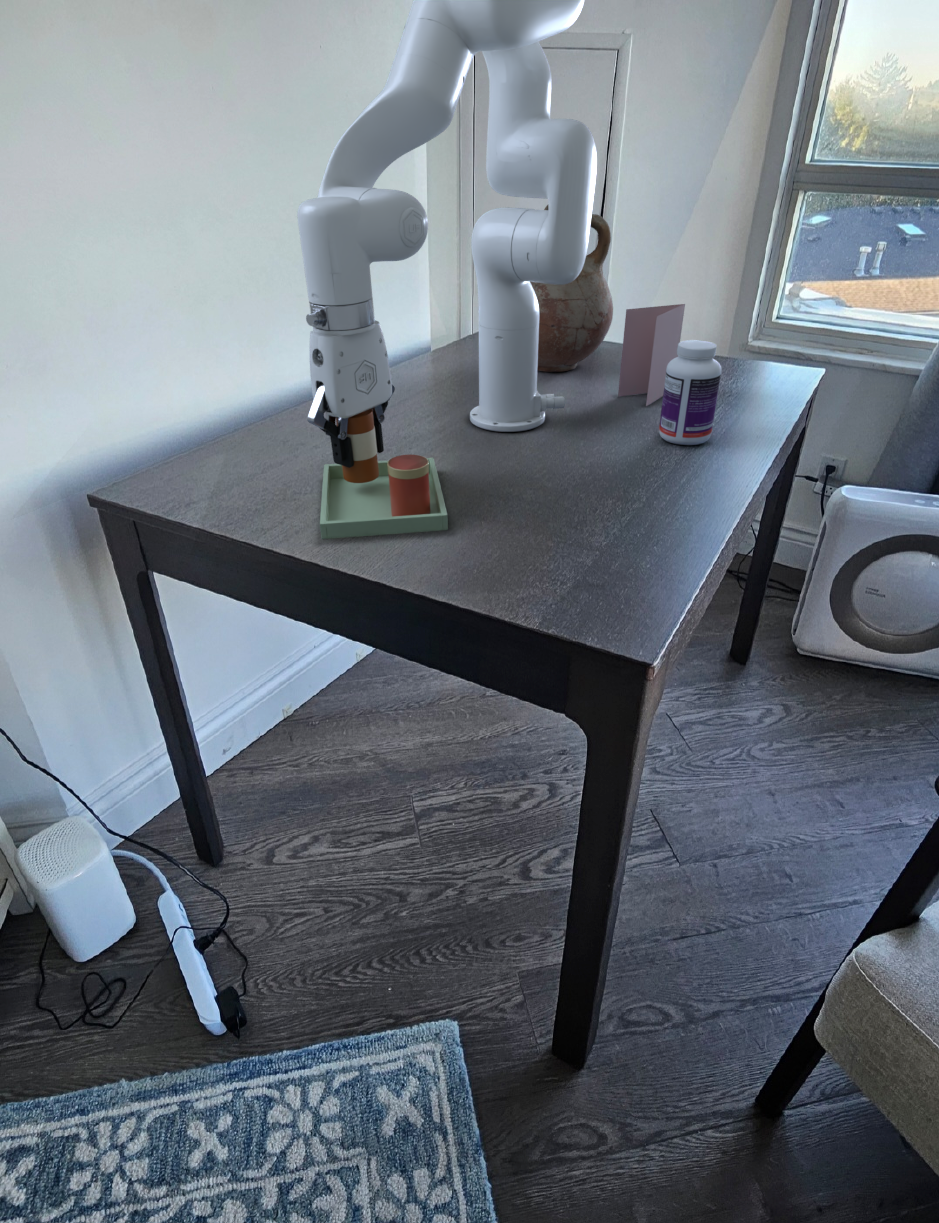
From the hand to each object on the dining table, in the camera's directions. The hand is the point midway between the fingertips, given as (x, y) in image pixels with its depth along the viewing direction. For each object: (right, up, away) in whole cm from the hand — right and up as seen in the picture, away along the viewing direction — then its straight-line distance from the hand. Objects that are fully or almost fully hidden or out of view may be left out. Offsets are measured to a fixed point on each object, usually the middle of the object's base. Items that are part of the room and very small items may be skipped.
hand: (359, 456), depth 100 cm
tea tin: (+7, -8, -4) cm, 11 cm away
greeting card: (+48, +18, +35) cm, 62 cm away
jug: (+32, +29, +53) cm, 69 cm away
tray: (+3, -7, 0) cm, 7 cm away
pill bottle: (+49, +6, +19) cm, 52 cm away
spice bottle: (0, -2, +2) cm, 3 cm away
